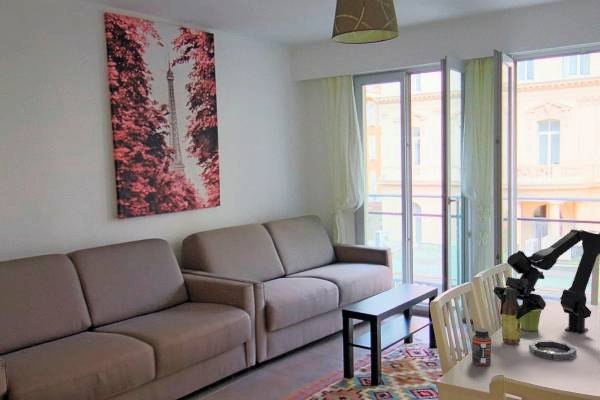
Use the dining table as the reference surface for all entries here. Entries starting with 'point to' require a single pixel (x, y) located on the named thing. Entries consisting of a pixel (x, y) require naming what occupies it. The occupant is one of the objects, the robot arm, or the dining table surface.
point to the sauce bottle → (511, 317)
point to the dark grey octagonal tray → (552, 350)
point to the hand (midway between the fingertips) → (508, 316)
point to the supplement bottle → (481, 347)
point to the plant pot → (530, 320)
